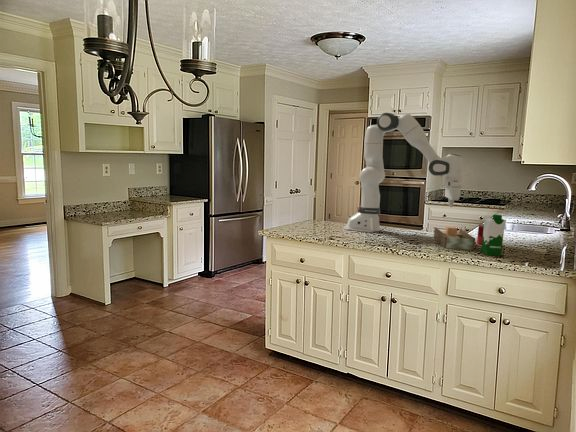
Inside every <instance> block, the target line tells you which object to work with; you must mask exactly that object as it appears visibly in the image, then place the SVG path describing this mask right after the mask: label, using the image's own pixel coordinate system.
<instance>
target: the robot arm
mask: <svg viewBox="0 0 576 432" xmlns="http://www.w3.org/2000/svg"><path fill="white" fill-rule="evenodd" d="M396 130H397V131H399V132H400V134H401V135H402V136H403V138H404V139H405V140H406V141H407V143H408V144H409V145H410V146H411V147H413V148H416V149H417V150H418V151H419V152H420V153H422V155H423V156H424V157H425V159H426V160H427V162H428V163H429V165H428V171H429V173H430V175H432V176H435V177H443V176H445V177H444V186H445V190H444V197H445V198H447V199H448V207H450V208H453V207H454V202H455V201H459V200H460V197H461V191H462V190H461V189H462V188H463V182H462V172H463V169H464V168H463V167H464V162H463V161H464V159H463V157H462V156H461V155H459V154H456V153H448V154H447V155H445V156H443V157H440V156H439V155H438V154H437V152H436V151H435V150H434V149H433V147H432V146H431V144H430V142H429V140H428V137H427V135H426V133H425V130H424V129H423V127H422V125H421V124H420V123H419V122H418V121H417V119H416V118H415V117H414V116H413V115H412V114H410V113H403V114H402V115H400V116H398V115H395V114H394V113H392V112H382V113H381V114H379V116H378V117H377V119H376V124H371V125H369V126H367V128H366V130H365V135H364V144H363V145H364V146H363V147H364V148H363V149H364V151H363V153H364V154H363V158H364V161H365V165H366V167H364V168H363V169H362V170H361V171H359V175H358V176H359V180H360V187H361V205H358V206H357V207H356V209H357V212H356V213H355V214H353V215H351V216H350V217H349V218H348V220H347V224H345V225H344V226H343V229H344V230H346V231H347V230H348V231H353V232H363V233H373V232H374V233H375V232H379V231H381V227H380V226H381V225H380V214H381V208H380V203H381V192H380V187H379V186H380V185H379V184H381V183H383V181H384V180H385V178H386V173H385V166H384V158H383V155H384V153H383V152H384V151H383V150H384V149H383V148H384V135H387V134H389V133H394V132H395V131H396Z"/></svg>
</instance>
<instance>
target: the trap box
mask: <svg viewBox="0 0 576 432" xmlns="http://www.w3.org/2000/svg"><path fill="white" fill-rule="evenodd" d="M433 238H434V240H435V241H437V242H438V243H439V244H440V246H441V247H443V248H444V249H452V250H453V249H456V250H468V251H469V250H471V251H475V246H476V245H475V244H476V238H475V237H474V236H472V235H471V234H470V233H468V232H466V231H465V230H464V229H463V228H459V232H458V231H457V235H447V234H446V230H445V231H444V230H443V231H441V230H440V229H439V228H437V227H436V226H435V227H434V231H433Z"/></svg>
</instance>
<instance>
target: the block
mask: <svg viewBox="0 0 576 432" xmlns="http://www.w3.org/2000/svg"><path fill="white" fill-rule="evenodd" d="M445 232H446V234H447V235H457V232H458V227H456V226H450V225H449V226H448V225H447V226H445Z"/></svg>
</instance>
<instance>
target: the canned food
mask: <svg viewBox="0 0 576 432" xmlns="http://www.w3.org/2000/svg"><path fill="white" fill-rule="evenodd" d="M483 229H484V223H479V224H478V228H477V236H476V237H477V238H476V243H477V244H476V245H479V246H482V238H483Z"/></svg>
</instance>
